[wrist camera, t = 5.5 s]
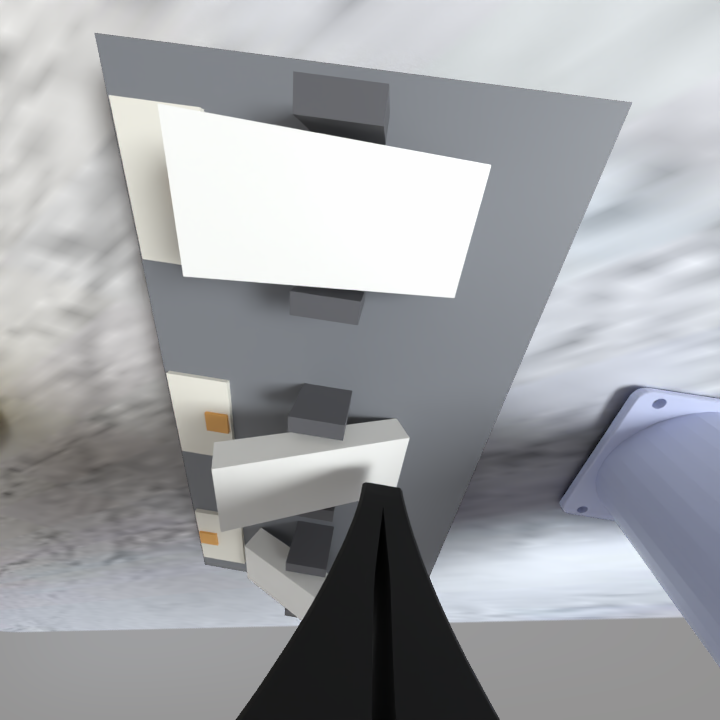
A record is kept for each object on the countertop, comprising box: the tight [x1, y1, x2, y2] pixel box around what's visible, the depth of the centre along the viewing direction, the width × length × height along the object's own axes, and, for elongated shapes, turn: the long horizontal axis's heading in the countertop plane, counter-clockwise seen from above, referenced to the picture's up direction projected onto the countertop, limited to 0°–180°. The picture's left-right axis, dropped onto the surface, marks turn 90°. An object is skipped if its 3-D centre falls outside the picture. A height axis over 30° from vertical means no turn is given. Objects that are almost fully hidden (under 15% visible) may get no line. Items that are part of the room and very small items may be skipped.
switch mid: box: [211, 418, 409, 532], centre depth 12 cm, size 7×3×1 cm, turn 83°
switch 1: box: [157, 103, 491, 298], centre depth 8 cm, size 7×3×1 cm, turn 83°
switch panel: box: [95, 33, 632, 618], centre depth 13 cm, size 14×25×4 cm, turn 173°
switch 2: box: [245, 528, 328, 620], centre depth 16 cm, size 7×3×1 cm, turn 82°
